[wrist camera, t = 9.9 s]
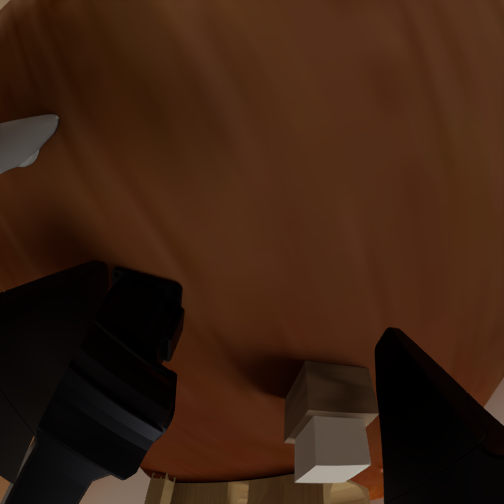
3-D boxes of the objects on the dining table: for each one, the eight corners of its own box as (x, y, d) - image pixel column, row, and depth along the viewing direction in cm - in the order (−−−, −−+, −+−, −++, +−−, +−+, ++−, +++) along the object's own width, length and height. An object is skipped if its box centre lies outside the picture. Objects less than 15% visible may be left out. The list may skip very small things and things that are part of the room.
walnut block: (285, 397, 30) (284, 442, 24) (305, 359, 26) (308, 409, 21) (341, 403, 30) (346, 445, 24) (367, 367, 26) (379, 413, 21)
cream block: (294, 439, 24) (294, 482, 19) (313, 415, 21) (316, 465, 17) (340, 441, 24) (343, 482, 19) (363, 418, 22) (370, 464, 17)
